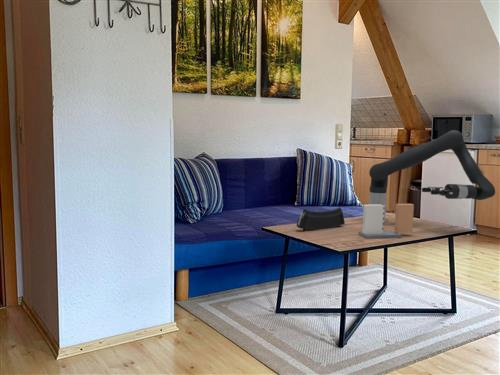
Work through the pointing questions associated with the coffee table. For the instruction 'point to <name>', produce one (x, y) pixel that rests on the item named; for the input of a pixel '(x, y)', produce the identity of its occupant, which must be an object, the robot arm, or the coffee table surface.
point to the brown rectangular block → (404, 218)
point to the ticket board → (375, 223)
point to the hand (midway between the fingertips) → (426, 191)
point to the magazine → (320, 219)
